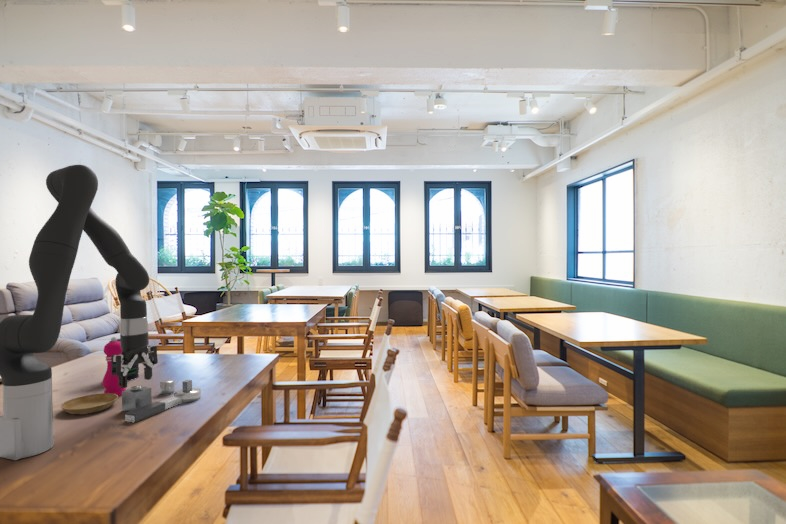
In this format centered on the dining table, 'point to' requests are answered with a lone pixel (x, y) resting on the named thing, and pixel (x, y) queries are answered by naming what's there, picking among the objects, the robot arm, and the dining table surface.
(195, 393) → the ratchet
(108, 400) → the plant saucer
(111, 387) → the pepper mill
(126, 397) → the socket
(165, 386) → the socket
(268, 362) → the dining table surface
